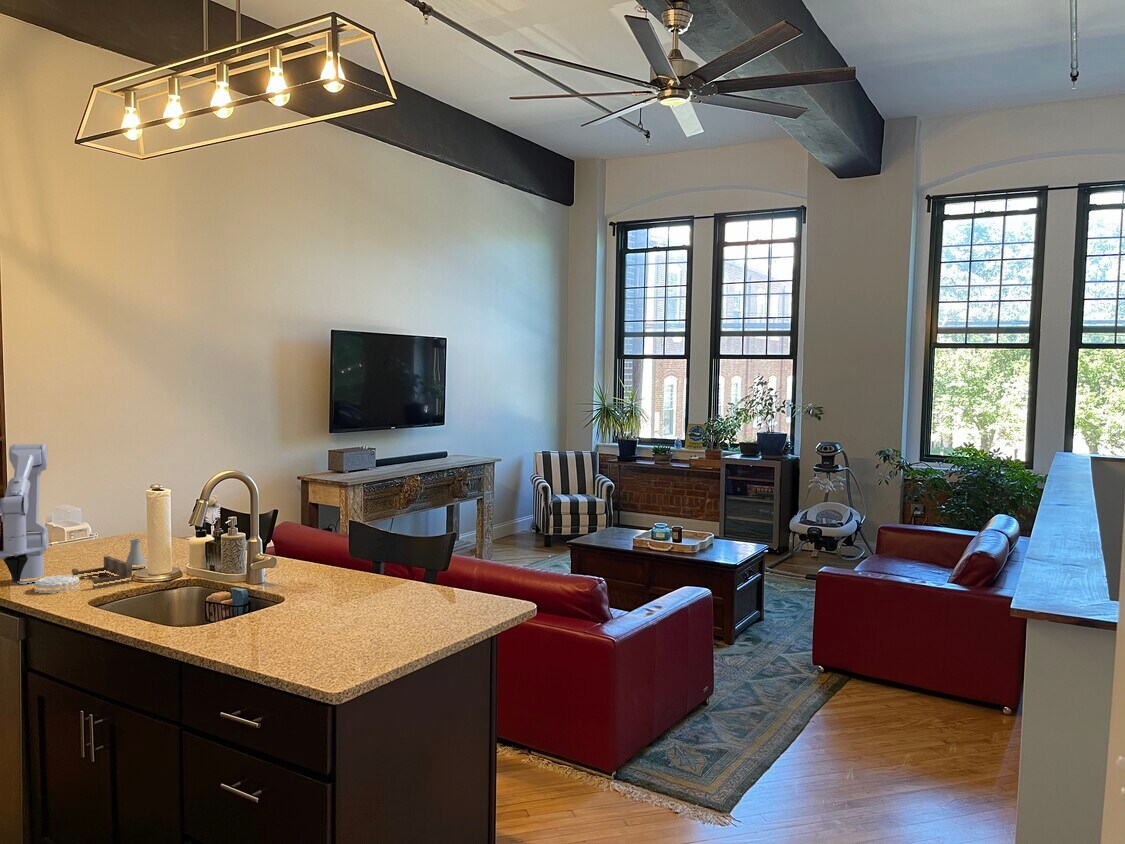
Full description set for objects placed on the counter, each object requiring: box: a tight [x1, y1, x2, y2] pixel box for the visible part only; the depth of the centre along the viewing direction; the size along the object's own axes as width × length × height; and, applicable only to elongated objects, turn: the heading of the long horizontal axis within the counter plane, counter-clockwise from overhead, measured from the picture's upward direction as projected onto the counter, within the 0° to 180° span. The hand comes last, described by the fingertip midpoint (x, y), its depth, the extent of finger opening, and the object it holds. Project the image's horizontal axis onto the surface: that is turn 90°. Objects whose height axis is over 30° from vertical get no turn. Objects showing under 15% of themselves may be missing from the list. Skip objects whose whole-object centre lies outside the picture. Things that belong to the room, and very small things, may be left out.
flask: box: [125, 538, 148, 570], centre depth 284 cm, size 7×7×10 cm
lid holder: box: [71, 555, 133, 589], centre depth 266 cm, size 18×11×6 cm, turn 50°
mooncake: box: [33, 574, 81, 594], centre depth 256 cm, size 12×12×4 cm
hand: (16, 581), depth 247 cm, fingers closed
